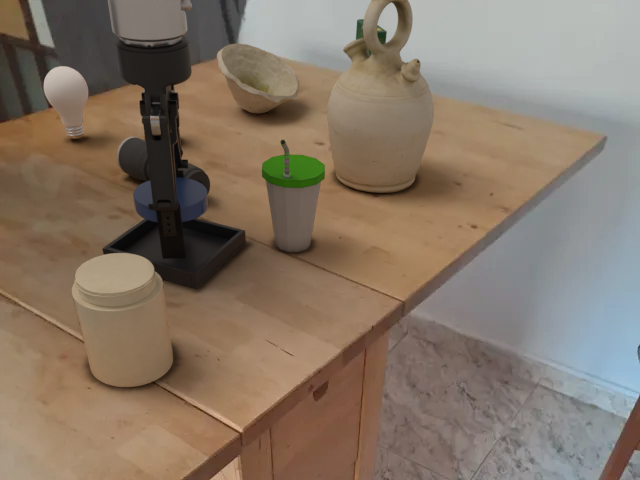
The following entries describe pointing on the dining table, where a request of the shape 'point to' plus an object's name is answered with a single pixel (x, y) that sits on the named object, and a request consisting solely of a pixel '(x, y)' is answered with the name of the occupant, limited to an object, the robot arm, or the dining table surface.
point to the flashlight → (136, 164)
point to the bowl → (257, 77)
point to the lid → (188, 196)
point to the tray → (200, 247)
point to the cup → (293, 197)
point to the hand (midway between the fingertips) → (176, 238)
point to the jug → (380, 109)
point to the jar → (123, 319)
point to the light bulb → (67, 98)
